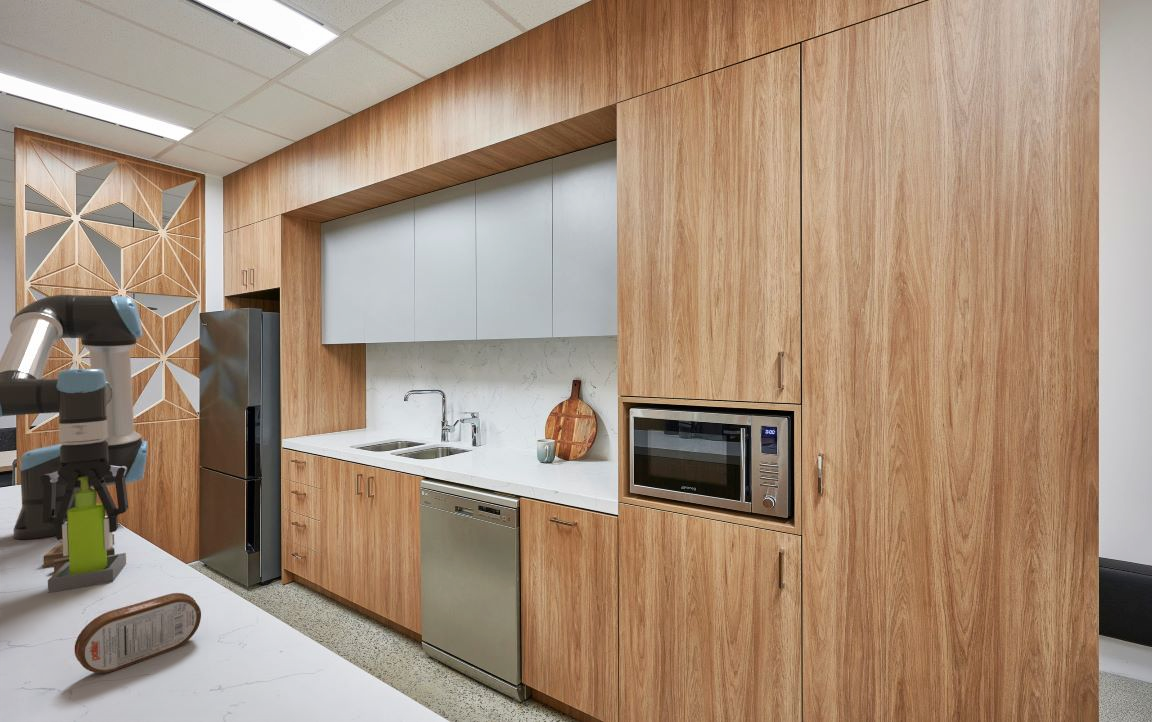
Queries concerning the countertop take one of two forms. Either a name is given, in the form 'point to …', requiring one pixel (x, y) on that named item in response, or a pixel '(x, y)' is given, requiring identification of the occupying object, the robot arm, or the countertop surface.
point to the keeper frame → (87, 575)
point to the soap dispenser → (86, 531)
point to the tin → (137, 632)
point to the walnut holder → (56, 554)
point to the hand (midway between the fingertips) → (88, 550)
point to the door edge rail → (60, 562)
